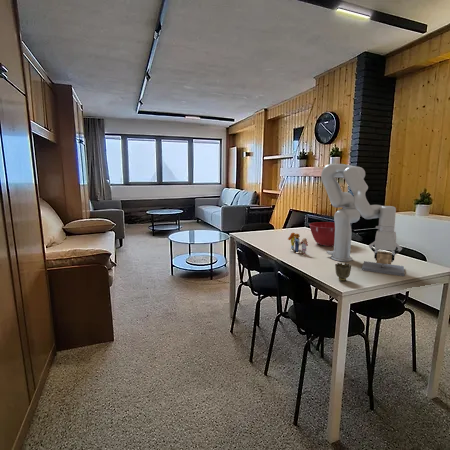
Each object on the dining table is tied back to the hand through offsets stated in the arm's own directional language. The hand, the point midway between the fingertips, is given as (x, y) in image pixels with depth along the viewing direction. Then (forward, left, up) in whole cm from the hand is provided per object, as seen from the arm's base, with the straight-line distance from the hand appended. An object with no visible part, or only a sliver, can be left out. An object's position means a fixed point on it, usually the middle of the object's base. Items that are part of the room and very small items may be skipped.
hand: (384, 260), depth 159 cm
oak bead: (0, 0, -1) cm, 1 cm away
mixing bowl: (-38, +48, -5) cm, 62 cm away
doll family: (-53, +15, -5) cm, 56 cm away
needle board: (0, 0, -5) cm, 5 cm away
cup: (-17, -29, -5) cm, 34 cm away
